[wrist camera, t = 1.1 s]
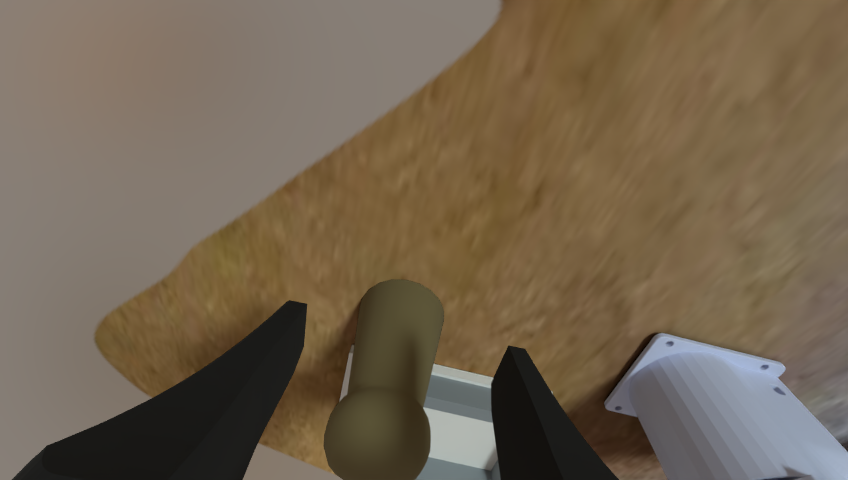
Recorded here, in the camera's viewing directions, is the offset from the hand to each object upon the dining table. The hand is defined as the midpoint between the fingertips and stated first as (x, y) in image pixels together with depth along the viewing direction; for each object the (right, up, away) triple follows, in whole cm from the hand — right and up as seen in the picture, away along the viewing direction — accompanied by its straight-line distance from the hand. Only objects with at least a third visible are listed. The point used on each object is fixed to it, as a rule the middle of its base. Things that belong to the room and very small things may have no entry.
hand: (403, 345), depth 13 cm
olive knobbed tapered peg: (-1, -1, +13) cm, 14 cm away
